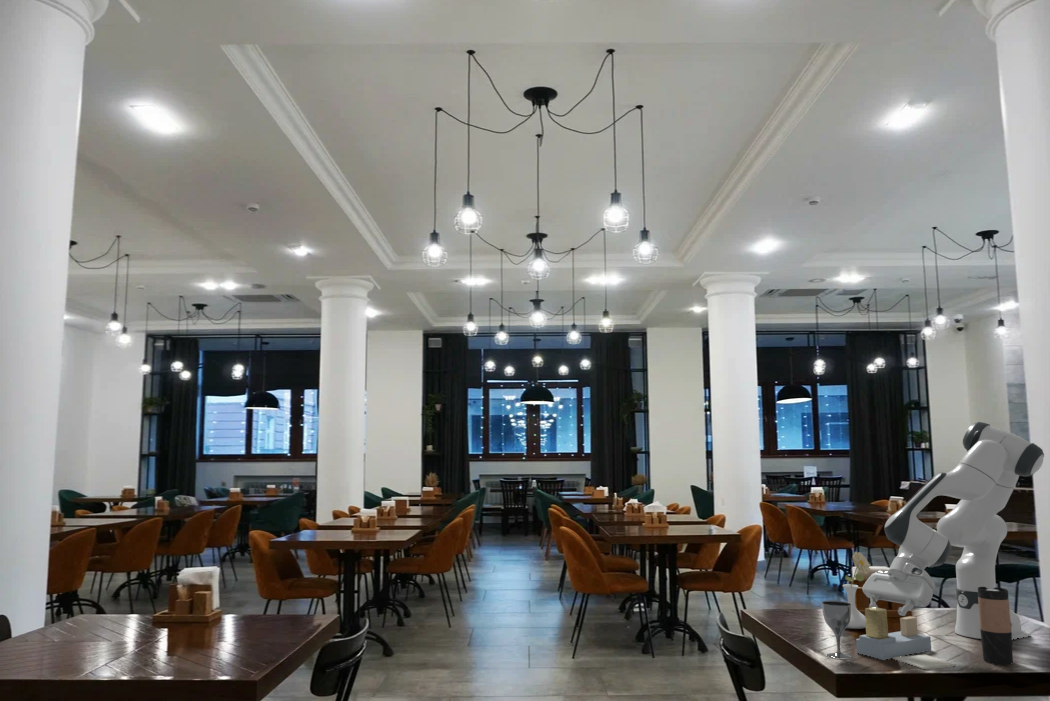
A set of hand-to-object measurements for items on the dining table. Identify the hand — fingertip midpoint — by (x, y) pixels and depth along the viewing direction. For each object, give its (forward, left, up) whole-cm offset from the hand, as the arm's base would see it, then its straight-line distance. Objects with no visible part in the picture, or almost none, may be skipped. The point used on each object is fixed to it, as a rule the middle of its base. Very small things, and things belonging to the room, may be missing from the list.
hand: (886, 611), depth 230 cm
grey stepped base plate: (-4, -2, -12) cm, 13 cm away
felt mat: (-3, +11, -12) cm, 16 cm away
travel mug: (-24, +16, -12) cm, 31 cm away
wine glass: (+15, -2, -12) cm, 20 cm away
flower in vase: (-15, -32, -12) cm, 38 cm away
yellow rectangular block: (+4, 0, -8) cm, 9 cm away
